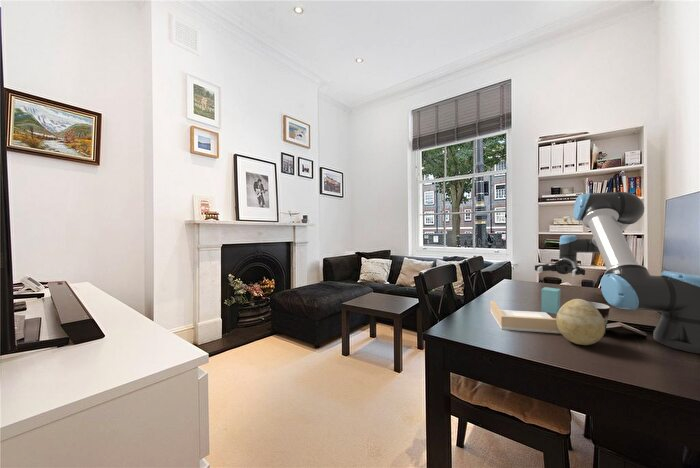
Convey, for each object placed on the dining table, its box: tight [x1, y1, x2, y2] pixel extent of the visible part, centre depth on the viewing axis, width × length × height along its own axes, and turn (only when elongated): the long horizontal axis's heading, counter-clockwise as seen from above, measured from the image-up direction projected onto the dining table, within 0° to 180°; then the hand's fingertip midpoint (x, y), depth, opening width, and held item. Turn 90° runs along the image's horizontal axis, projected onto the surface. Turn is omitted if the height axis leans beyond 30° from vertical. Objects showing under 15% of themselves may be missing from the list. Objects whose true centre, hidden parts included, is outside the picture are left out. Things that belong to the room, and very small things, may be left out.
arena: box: [489, 300, 561, 334], centre depth 117 cm, size 22×22×5 cm
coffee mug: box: [588, 301, 611, 336], centre depth 104 cm, size 12×9×10 cm
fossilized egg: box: [555, 298, 605, 346], centre depth 95 cm, size 13×13×15 cm
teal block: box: [540, 286, 561, 315], centre depth 129 cm, size 6×6×10 cm
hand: (555, 272), depth 134 cm, fingers open, 13 cm apart
